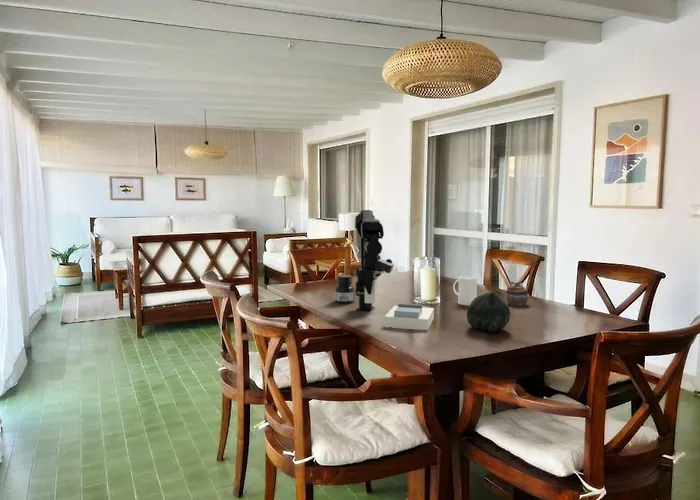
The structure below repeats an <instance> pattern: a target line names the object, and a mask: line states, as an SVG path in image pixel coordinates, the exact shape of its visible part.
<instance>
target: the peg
mask: <svg viewBox="0 0 700 500" xmlns="http://www.w3.org/2000/svg"><path fill="white" fill-rule="evenodd" d="M375 277H377V278H376V279H375V280H374V281H373V286H372V292H371V294H368V293H367V290H366V288H365V303H372V305H373V304H374V305H375V304H376V303H377V302H378V286H377V285H378V278H379V277H378V276H375Z"/></svg>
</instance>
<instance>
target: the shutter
mask: <svg viewBox="0 0 700 500" xmlns="http://www.w3.org/2000/svg"><path fill="white" fill-rule="evenodd" d="M397 306H398V307H397V308H396V310H395V311H394V316H399V317H414V318H419V316H420V315H421V313H422V307H423V304H414V303H398V304H397Z"/></svg>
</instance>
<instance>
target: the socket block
mask: <svg viewBox="0 0 700 500" xmlns="http://www.w3.org/2000/svg"><path fill="white" fill-rule="evenodd" d="M397 307H398V305H393V306H392V308H390V310H389V311H388V312H387V313H386V314H385V316H384V317H383V318H384V319H383V320H384V321H383V324H384V328H389V327H392V329H393V328H394V329H404V330H419V331H429V329H430V327H431V325H432V322H433V321H434V319H435V308H434V307H423V306H422V313H421V315H420V316H419V318H414V317H399V316H394V311H395V310H396V308H397Z"/></svg>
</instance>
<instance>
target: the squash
mask: <svg viewBox="0 0 700 500" xmlns="http://www.w3.org/2000/svg"><path fill="white" fill-rule="evenodd" d="M510 319H511V309H510V308H509V304H508V303H506V302H505V300H504V299H503V298H502V297H501V296H500V295H499V294H498V293H496V292H494V291H490V292H486V293H483V294H479V295H478V296H477V297H476V298H475V299H474V300H473V301H472V302H471V304H470V305H468V308H467V310H466V320H467V322H468V324H469V326H471V327H472V328H474V329H478V330H481V329H482V330H483V331H486V330H487V331H488V332H490V333H494V332H495V333H497V332H501V331H502V330H503V329H504V328H505V327H506V326H507V325H508V323H509V322H510Z"/></svg>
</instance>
